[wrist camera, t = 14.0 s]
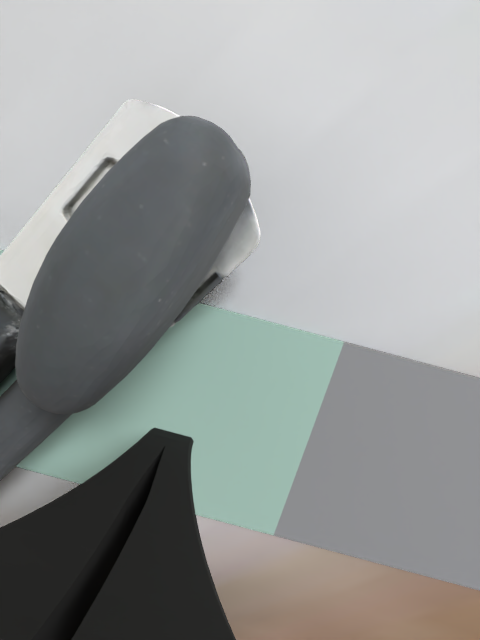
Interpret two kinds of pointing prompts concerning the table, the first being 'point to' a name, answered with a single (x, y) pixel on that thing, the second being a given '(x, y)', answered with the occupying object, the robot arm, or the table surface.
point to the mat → (300, 440)
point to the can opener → (115, 264)
